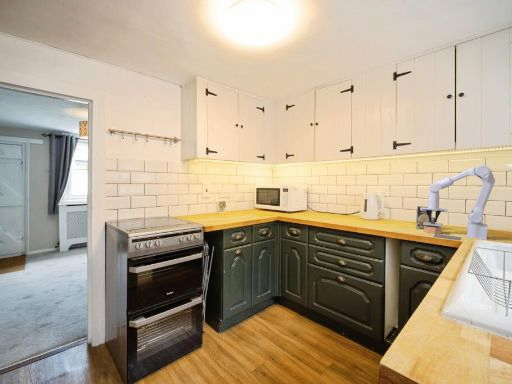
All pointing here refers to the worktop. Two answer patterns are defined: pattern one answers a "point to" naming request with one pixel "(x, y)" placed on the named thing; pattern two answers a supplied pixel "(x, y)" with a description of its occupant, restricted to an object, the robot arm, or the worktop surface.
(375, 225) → the worktop surface
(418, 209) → the coffee box
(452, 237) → the mat
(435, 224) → the lid
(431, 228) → the bowl
